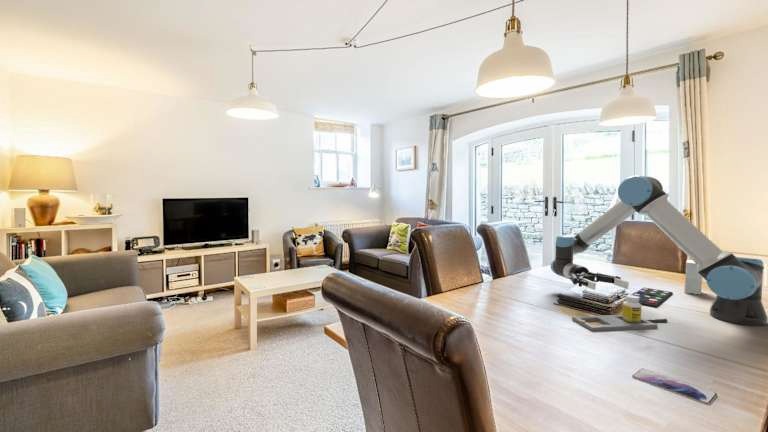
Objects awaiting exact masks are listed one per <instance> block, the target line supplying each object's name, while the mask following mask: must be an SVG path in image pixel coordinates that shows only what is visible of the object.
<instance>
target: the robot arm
mask: <svg viewBox="0 0 768 432" xmlns="http://www.w3.org/2000/svg"><path fill="white" fill-rule="evenodd" d="M617 195H618V198H619V199H620V200H619V201H618V202H616V204H614V205H613V206H611V208H609V209H608V210H607V211H605V212H604V213H603V214H602V215H600V216H599V217H598V218H596V219H595V220H594V221H593V222H591V223H590V224H589V225H587V226H586V227H585V228H584V229H582V230H581V231H580V232H579V233H577V234H576V235H575V236H572V235H568V234H567V235H566V234H565V235H563V234H561V235H557V236H556V238H555V243H554V244H555V258H554V260H553V261H551V263H550V270H551V271H552V272H553V273H554V274H556V275H557V276H559V277H563V278H565V279H568V280H569V281H571V282H572V284H573V285H574V286H575V285H577V284H578V287H586V288H589V289H591V290H593V291H594V290H596V286H597V283H598V282H601V283H605V284H606V283H607V284H612V285H615V286H617V287H620V288H623V289H626V290H628V289H629V284H630V283H629V281H626V280H623V279H622V277H620V276H618V275H615V276H614V275H611V274H610V275H609V274H604V273H600V272H596V273H595V272H591V271H589V269H588V268H587V267H585V266H582V265H579V264H577V263H574V255H575V254H581V253H584V252H586V251H587V250H588V249H589V247H590V246H591V245H592V244H594V243H595V242H597V241H599V239H601V238H602V237H604V236H605V235H607V234H608V233H609V232H610V231H612V230H613V229H615V228H616V227H617V226H619V225H621V224H622V223H623V222H625V220H627V219H628V218H630V217H631V216H633V215H634V214H635V213H638V215H644V216H646V217H648V218H649V220H650V221H652V222H653V223H654V224H655V225H656V226H657V227H658V228H659V230H661V231H662V232H663V233H664V234H665V235H666V236H667V238H669V239H670V240H671V241H672V242H673V243H674V244H675V245H676V246H677V247H678V248H679V249H680V250H681V251H682V252H683V253H684V254H685V255H687V257H689V259H690V260H693V261H694V262H695V263H696V264H697V272H698V273H699V274H700V275H701V276H702V279H704V280H705V282H706V284H707V287H708V288H709V289H710V291H711V292H712V293H714V294H715V295H716V296H715V298H714V300H713V302H712V304H711V306H710V309H709V315H710V316H711V317H713V318H716V319H717V320H721V321H726V322H729V323H734V324H740V325H748V326H759V327H760V326H766V325H768V315H767V313H766V309H765V307H764V304H763V302H762V298H763V297H762V296H763V294H762V293H763V277H764V276H763V275H764V270H765V266H764V262H763V260H762V259H760V258H759V259H758V258H750V257H738V256H735V255H734V254H733V253H732V252H730V251H723V250H722V249H720V248H719V246H717V245H716V244H715V243H714V242H713V241H712V240H710V239H709V238H708V236H706V235H705V234H704V232H702V231H701V230H700V229H699V228H697V226H696V225H694V223H692V222H691V221H690V220H689V219H688V218H687V217H686V216H685V215H684V214H682V212H681V211H679V210H678V209H677V208H676V207H675V206H674V205H673V204H671V203H670V202H669V201H668V196H669V194H668V193H666V191H664V188H663V185H662V183H661V181H659V180H658V179H656V178H654V177H652V176H646V175H645V176H643V175H639V174H638V175H632V176H629V177H627V178H625V179H624V180H623V181H621V182H620V184H619V185H618V189H617Z"/></svg>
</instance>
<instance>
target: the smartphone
mask: <svg viewBox="0 0 768 432" xmlns="http://www.w3.org/2000/svg"><path fill="white" fill-rule="evenodd" d="M632 377H633V378H632ZM631 378H632V379H634V378H635V380H637V379H638V380H637V381H640V382H643V383H645V382H646V384H648V383H649V385H651V386H654V387H656V386H657V388H659V387H660V389H662V388H663V389H662V390H664V391H667V390H669V391H668V392H670V391H671V392H670V393H673V392H675V393H674V394H676V393H677V394H676V395H678V394H680V395H679V396H681V395H682V397H684V396H685V397H684V398H687V397H688V398H687V399H689V398H690V399H691V400H692V399H693V401H695V400H696V401H695V402H699V403H700V402H701V404H703V403H704V405H706V404H707V405H706V406H710V405H712V403H713V402H714V401H715V400H716V398H718V393H717V392H716V391H715V392H714V391H712V390H708V389H706V388H702V387H699V386H697V385H694V384H691V383H689V382H685V381H681V380H680V379H677V378H674V377H670V376H668V375H664V374H662V373H659V372H655V371H653V370H650V369H646V368H641V369H639V370H638V371H637V372H635V373H634V374H632V376H631Z"/></svg>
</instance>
